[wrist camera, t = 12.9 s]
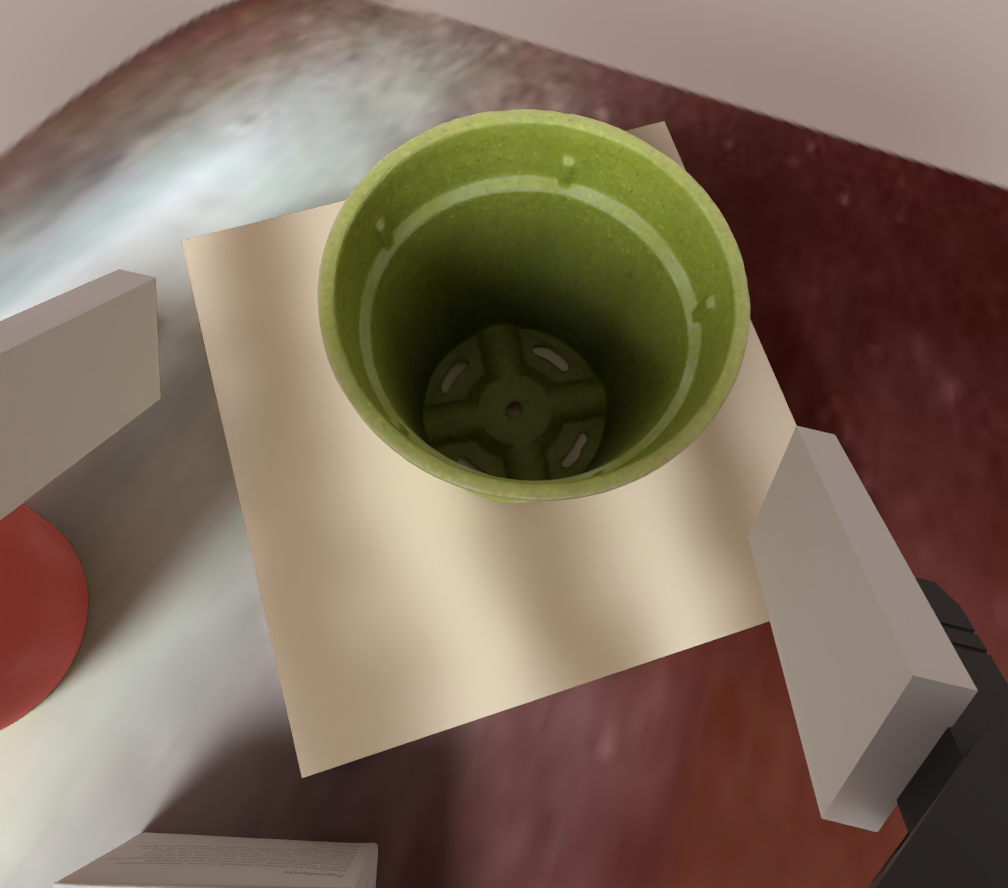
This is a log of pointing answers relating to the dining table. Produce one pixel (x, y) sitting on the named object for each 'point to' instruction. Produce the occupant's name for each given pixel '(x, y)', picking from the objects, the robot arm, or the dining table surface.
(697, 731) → the dining table surface
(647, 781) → the dining table surface
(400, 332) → the plant pot
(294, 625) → the plinth
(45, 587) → the flower pot
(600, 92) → the dining table surface
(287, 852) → the small box
